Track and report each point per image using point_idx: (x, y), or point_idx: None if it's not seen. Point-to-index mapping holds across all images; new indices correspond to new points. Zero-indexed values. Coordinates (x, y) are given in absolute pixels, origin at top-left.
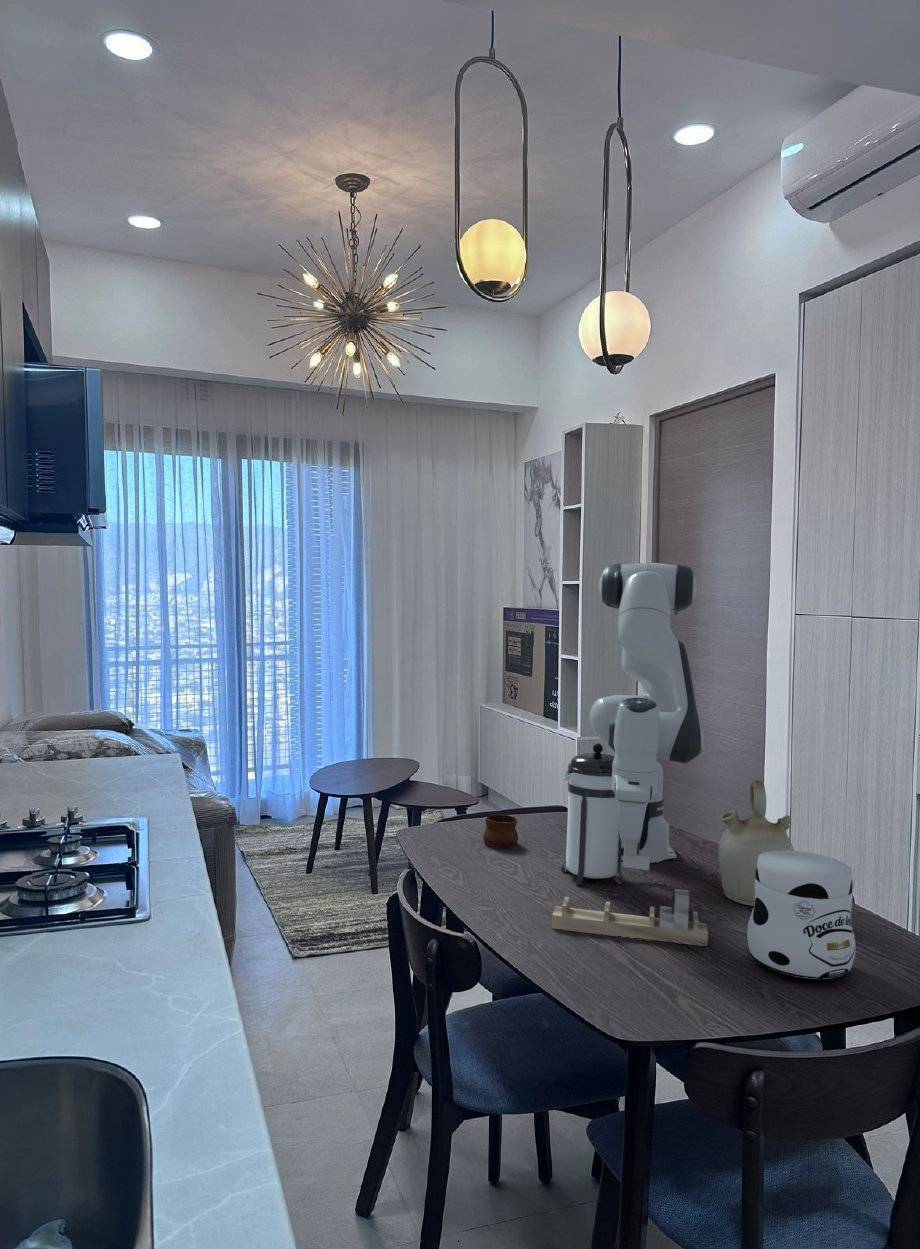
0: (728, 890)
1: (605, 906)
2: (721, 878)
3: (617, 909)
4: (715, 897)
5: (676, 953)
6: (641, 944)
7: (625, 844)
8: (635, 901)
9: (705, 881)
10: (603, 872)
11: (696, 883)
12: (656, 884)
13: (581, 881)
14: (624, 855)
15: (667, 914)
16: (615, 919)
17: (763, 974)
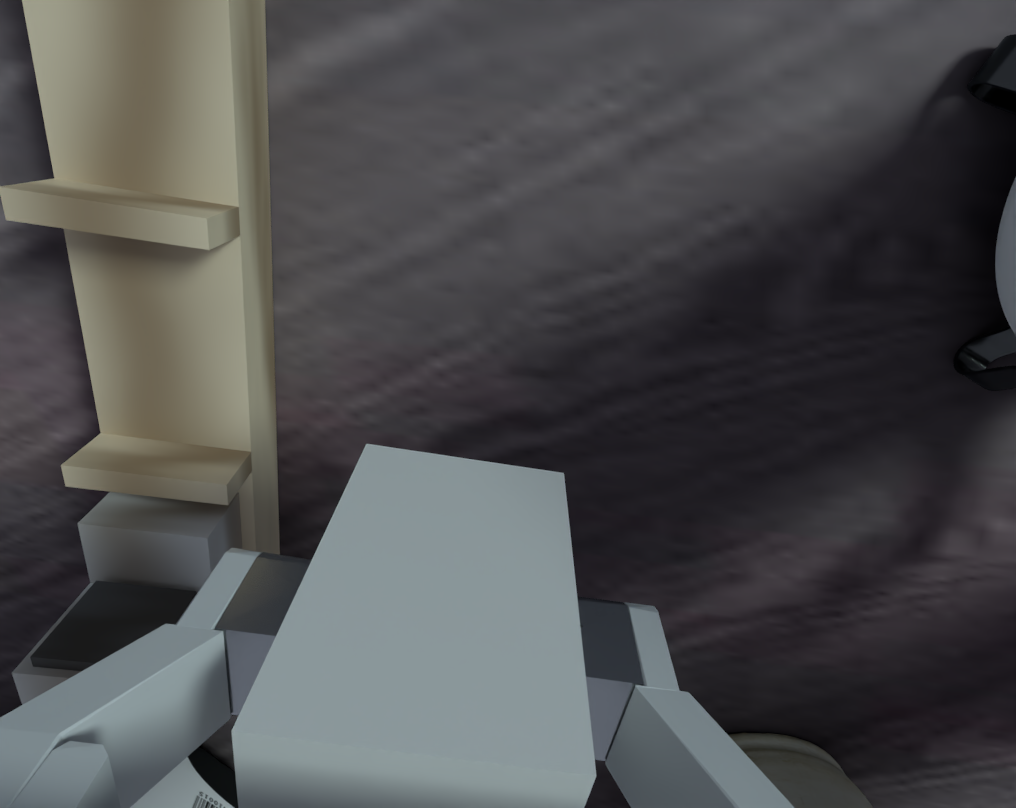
0: None
1: (96, 204)
2: (805, 790)
3: (542, 294)
4: (742, 702)
5: (44, 490)
6: (71, 361)
7: (106, 658)
8: (679, 402)
9: (941, 701)
10: (1012, 265)
11: (921, 671)
12: (933, 526)
13: (988, 83)
14: (333, 525)
15: (84, 554)
16: (126, 260)
17: (10, 705)
